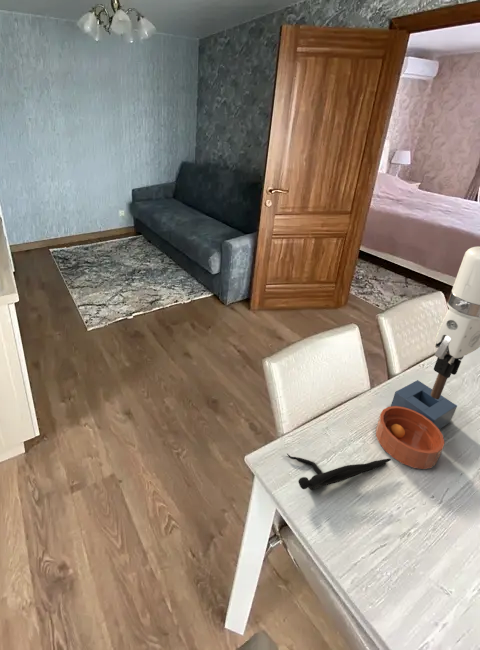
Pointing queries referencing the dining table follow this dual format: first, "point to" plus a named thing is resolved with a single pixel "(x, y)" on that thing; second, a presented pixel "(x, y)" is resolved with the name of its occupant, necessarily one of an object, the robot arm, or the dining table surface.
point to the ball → (397, 431)
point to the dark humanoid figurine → (335, 473)
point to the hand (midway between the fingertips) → (444, 371)
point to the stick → (439, 385)
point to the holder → (425, 403)
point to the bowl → (410, 437)
